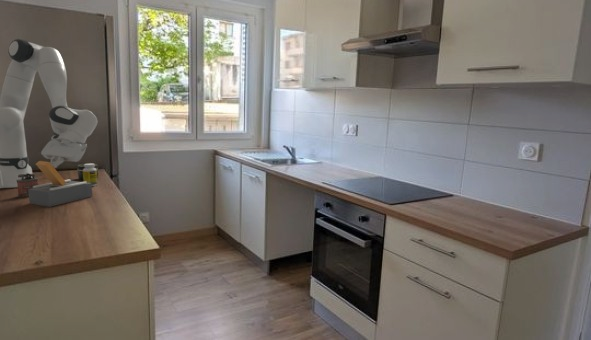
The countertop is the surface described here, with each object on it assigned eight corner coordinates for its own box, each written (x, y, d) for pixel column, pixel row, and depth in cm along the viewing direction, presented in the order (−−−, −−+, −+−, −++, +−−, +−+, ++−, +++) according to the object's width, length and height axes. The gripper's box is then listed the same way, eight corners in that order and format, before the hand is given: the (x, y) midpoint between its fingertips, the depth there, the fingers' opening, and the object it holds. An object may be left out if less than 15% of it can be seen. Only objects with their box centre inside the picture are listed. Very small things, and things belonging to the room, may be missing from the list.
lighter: (38, 193, 176) (36, 171, 175) (40, 194, 174) (38, 173, 172) (17, 196, 171) (15, 173, 169) (18, 197, 169) (16, 175, 167)
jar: (102, 178, 214) (101, 164, 213) (86, 181, 205) (85, 167, 204) (90, 176, 218) (89, 163, 217) (74, 179, 209) (72, 165, 208)
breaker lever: (53, 184, 165) (35, 164, 157) (56, 181, 166) (39, 160, 158) (63, 186, 163) (45, 165, 155) (66, 182, 164) (49, 161, 156)
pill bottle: (91, 187, 191) (90, 165, 189) (80, 186, 193) (79, 164, 191) (100, 184, 197) (98, 163, 195) (89, 183, 199) (88, 162, 197)
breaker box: (29, 203, 159) (27, 186, 158) (73, 193, 177) (72, 178, 176) (49, 206, 155) (47, 189, 153) (92, 196, 173) (91, 180, 172)
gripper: (93, 147, 166) (75, 173, 159) (60, 144, 174) (41, 169, 167) (83, 138, 161) (64, 164, 154) (50, 135, 169) (29, 160, 162)
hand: (51, 166), depth 161 cm, fingers closed
